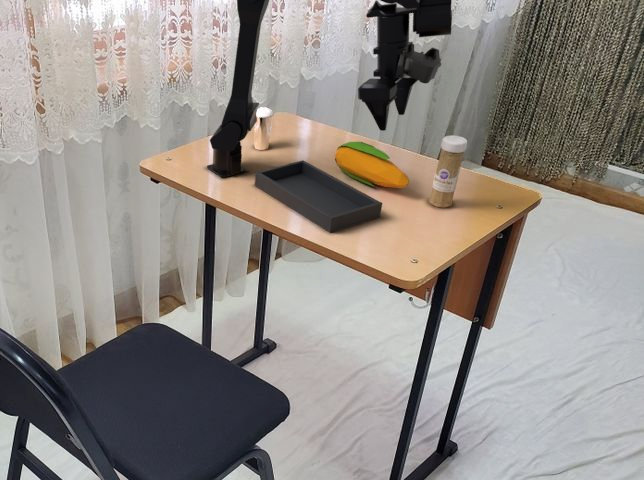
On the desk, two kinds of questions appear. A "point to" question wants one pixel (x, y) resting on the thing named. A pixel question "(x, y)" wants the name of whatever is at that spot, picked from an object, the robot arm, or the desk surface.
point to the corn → (369, 165)
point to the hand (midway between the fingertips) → (392, 122)
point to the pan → (318, 195)
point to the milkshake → (263, 128)
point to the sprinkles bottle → (447, 170)
